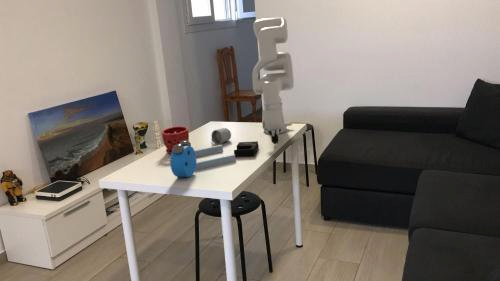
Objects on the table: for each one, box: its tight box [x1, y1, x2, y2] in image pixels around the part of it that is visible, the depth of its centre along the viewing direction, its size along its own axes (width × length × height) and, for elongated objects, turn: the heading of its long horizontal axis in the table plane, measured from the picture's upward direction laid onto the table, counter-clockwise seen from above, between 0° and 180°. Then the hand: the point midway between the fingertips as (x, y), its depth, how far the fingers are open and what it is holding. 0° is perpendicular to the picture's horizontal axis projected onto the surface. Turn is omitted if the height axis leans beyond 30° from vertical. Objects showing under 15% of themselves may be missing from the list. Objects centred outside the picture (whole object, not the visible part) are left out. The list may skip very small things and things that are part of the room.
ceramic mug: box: [210, 127, 232, 145], centre depth 237 cm, size 11×8×8 cm
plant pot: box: [161, 126, 190, 156], centre depth 226 cm, size 13×13×12 cm
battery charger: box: [233, 140, 260, 159], centre depth 215 cm, size 13×10×4 cm
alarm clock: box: [169, 140, 197, 179], centre depth 190 cm, size 13×6×15 cm, turn 163°
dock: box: [194, 144, 237, 170], centre depth 210 cm, size 18×20×3 cm
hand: (275, 143), depth 221 cm, fingers closed
